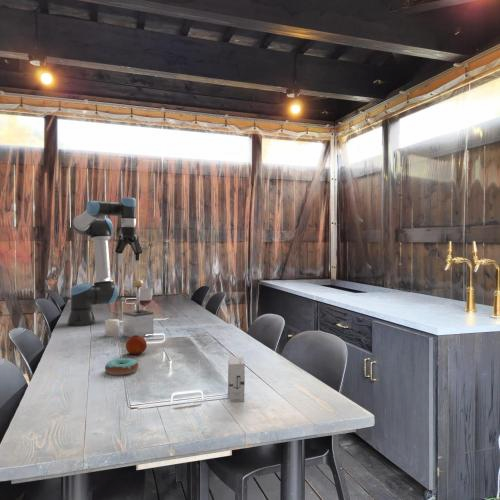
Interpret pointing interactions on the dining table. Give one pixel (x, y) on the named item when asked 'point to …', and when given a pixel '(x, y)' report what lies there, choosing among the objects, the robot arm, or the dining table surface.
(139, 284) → the gold knobbed rod
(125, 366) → the donut
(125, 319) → the grey block with hole
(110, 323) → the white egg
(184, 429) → the dining table surface
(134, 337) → the fruit
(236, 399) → the ink box
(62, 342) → the dining table surface
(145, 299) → the wineglass
